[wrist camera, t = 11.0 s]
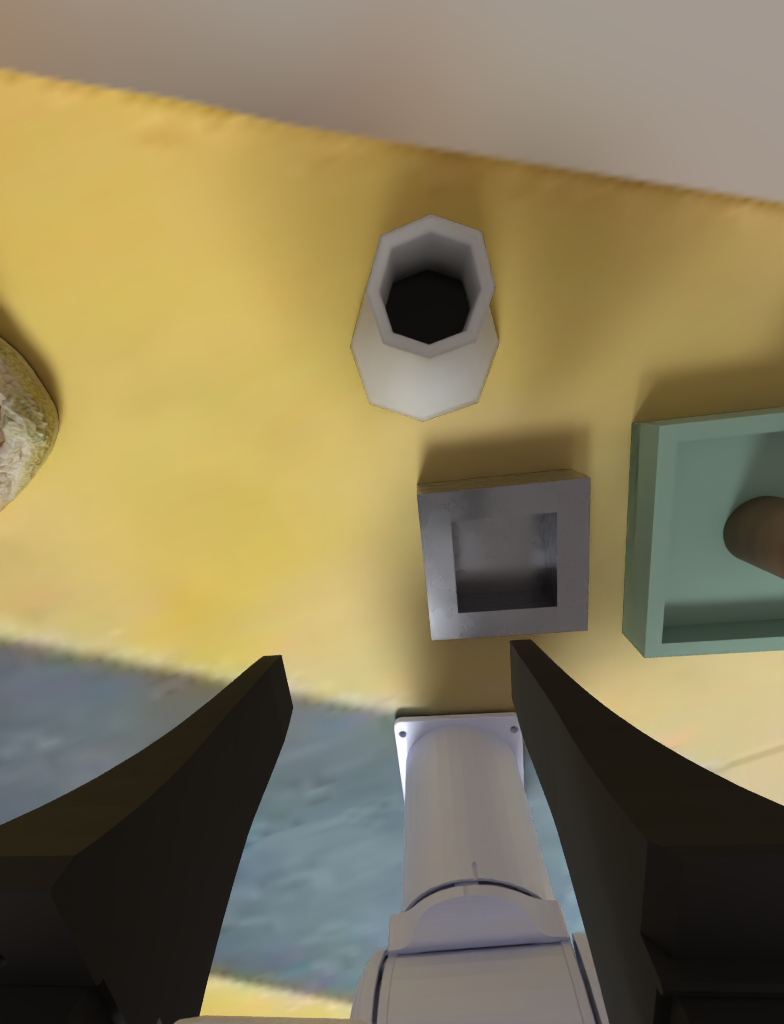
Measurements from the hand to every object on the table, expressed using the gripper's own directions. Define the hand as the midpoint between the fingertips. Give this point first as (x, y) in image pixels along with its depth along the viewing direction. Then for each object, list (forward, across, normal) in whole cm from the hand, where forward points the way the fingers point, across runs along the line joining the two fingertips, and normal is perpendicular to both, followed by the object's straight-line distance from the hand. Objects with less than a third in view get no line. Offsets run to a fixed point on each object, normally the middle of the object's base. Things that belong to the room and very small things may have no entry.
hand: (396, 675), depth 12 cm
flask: (+11, -2, -11) cm, 15 cm away
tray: (+10, -18, 0) cm, 21 cm away
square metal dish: (+10, -5, 0) cm, 12 cm away
